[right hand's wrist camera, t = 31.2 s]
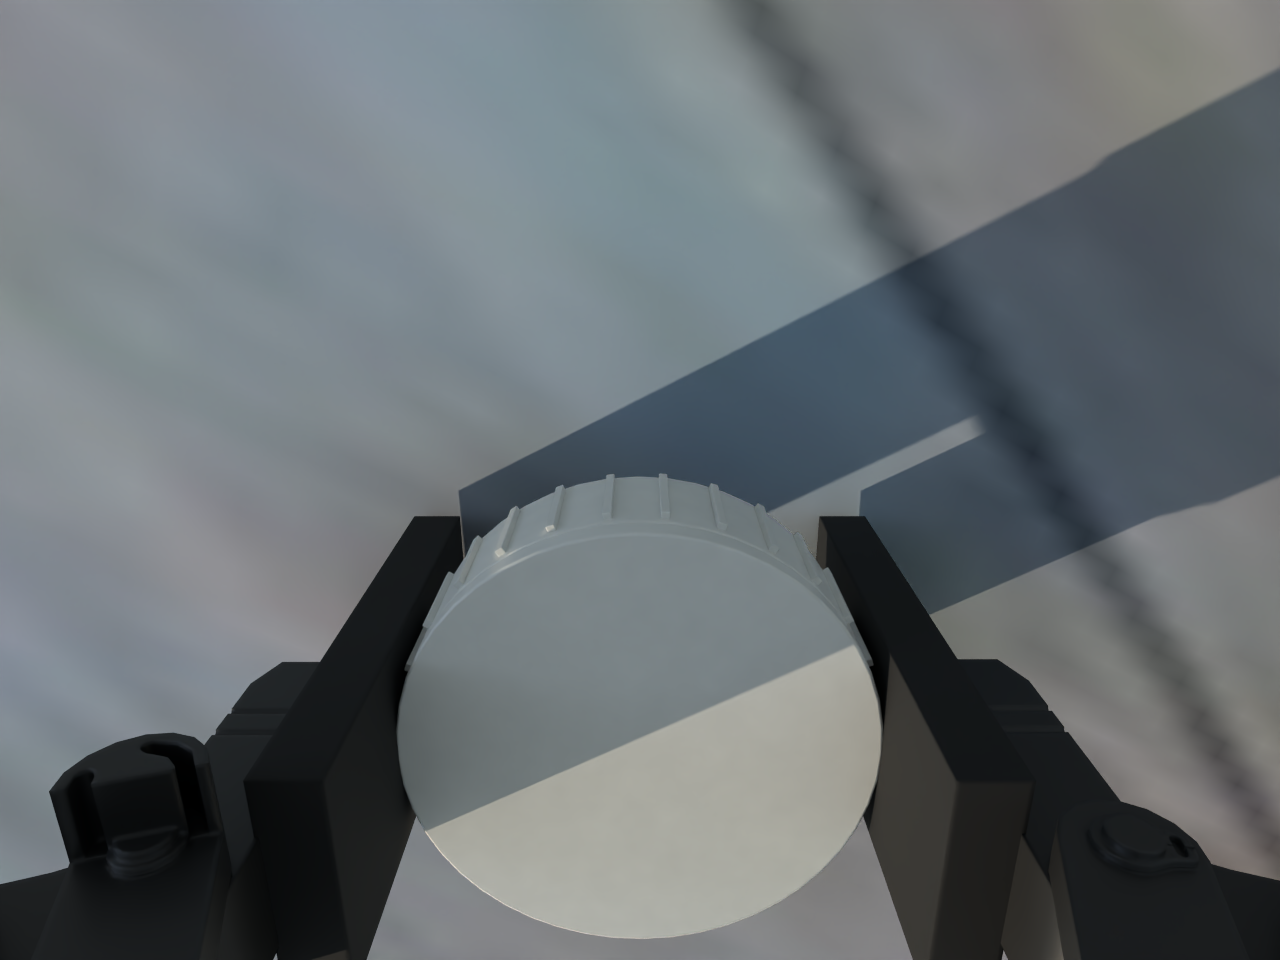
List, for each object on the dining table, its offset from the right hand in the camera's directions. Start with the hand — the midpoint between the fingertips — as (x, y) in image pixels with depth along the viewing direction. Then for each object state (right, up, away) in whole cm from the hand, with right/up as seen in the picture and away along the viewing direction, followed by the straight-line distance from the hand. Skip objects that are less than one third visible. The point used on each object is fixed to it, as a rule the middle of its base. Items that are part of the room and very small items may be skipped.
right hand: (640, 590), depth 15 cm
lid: (0, -1, -4) cm, 4 cm away
